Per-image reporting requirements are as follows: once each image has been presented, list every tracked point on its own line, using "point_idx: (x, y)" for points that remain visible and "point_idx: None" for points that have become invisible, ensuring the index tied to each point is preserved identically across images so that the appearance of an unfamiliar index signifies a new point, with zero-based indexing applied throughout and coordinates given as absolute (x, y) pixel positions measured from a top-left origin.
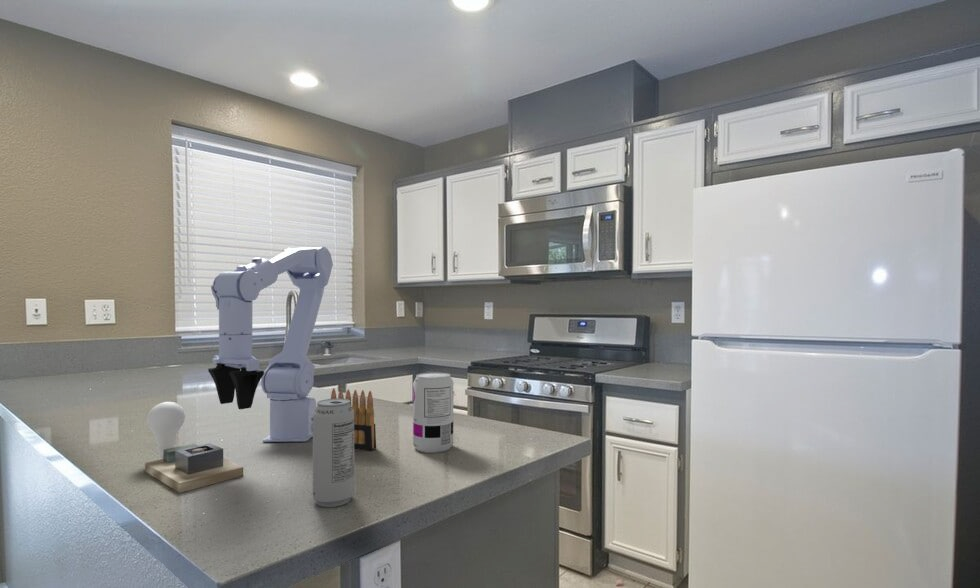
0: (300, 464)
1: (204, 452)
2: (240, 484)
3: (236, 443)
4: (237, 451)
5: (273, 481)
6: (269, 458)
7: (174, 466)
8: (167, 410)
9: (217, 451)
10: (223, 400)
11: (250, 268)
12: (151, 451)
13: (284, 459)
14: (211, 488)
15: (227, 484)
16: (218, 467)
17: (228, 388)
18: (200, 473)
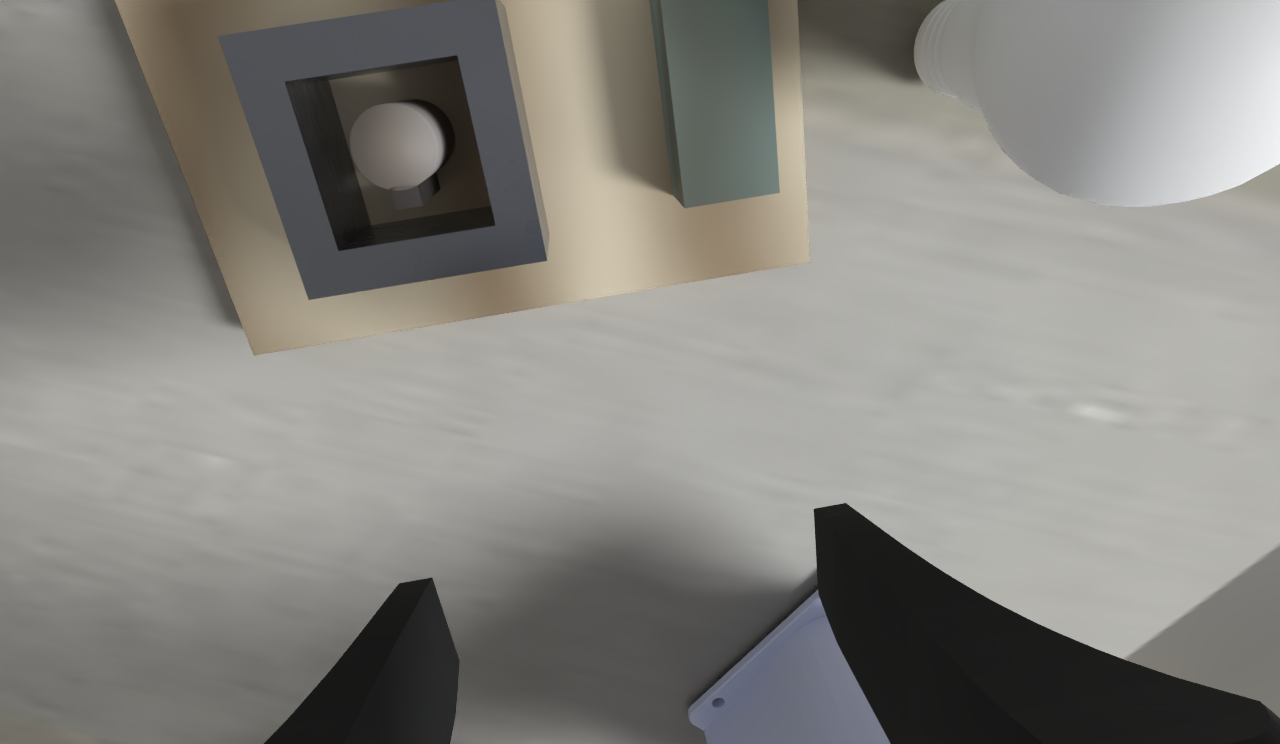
0: (309, 596)
1: (279, 168)
2: (117, 287)
3: (951, 454)
4: (783, 422)
5: (79, 431)
6: (521, 514)
7: (541, 9)
8: (1116, 4)
9: (297, 257)
10: (824, 543)
11: None
12: None
13: (451, 563)
14: (125, 140)
15: (156, 231)
16: None
17: (884, 680)
18: None
